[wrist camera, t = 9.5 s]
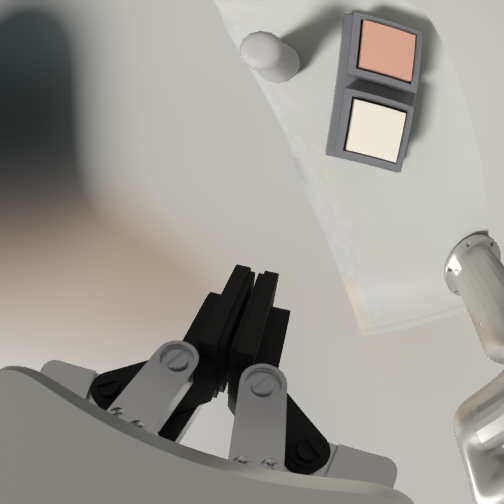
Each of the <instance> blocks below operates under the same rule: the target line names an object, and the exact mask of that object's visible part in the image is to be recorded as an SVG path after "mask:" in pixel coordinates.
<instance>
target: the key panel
mask: <svg viewBox="0 0 504 504" xmlns="http://www.w3.org/2000/svg"><path fill="white" fill-rule="evenodd" d="M364 20H366V21H370V22H374V23H378V24H381V25H385V26H388V27H391V28H395V29H398V30H401V31H404V32H407V33H410V34H412V35H415V36H416V37H415V50H414V61H413V70H412V78H411V81H409V82H402V81H399V80H396V79H392V78H389V77H386V76H382V75H379V74H375V73H372V72H368V71H364V70H360V69H356V65H357V56H358V47H359V37H360V27H361V25H362V23H363V21H364ZM422 38H423V32H421V31H418V30H415V29H412V28H410V27H407V26H404V25H401V24H398V23H395V22H391V21H388V20H385V19H381V18H378V17H374V16H370V15H366V14H362V13H358V12H354V14H353V15H350V14H345V13H344V17H343V24H342V35H341V45H340V54H339V63H338V71H337V79H336V86H335V93H334V101H333V107H332V114H331V121H330V127H329V133H328V139H327V145H326V155H329V156H334V157H338V158H343V159H347V160H351V161H355V162H360V163H364V164H368V165H371V166H375V167H379V168H383V169H386V170H390V171H393V172H397V173H398V172H401V168H402V164H403V160H404V156H405V152H406V148H407V143H408V138H409V134H410V129H411V123H412V118H413V113H414V107H412V101H413V94H414V93H417V87H418V80H419V72H420V63H421V52H422ZM352 99H356V100H360V101H364V102H368V103H372V104H376V105H379V106H383V107H386V108H390V109H393V110H396V111H399V112H402V113H406V117H405V122H404V127H403V132H402V137H401V142H400V146H399V151H398V155H397V160H396V163H395V162H391V161H388V160H384V159H381V158H377V157H373V156H369V155H366V154H362V153H357V152H353V151H349V150H346V148H345V146H344V143H345V138H346V132H347V126H348V120H349V114H350V108H351V101H352Z"/></svg>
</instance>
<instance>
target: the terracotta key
mask: <svg viewBox="0 0 504 504" xmlns="http://www.w3.org/2000/svg"><path fill="white" fill-rule="evenodd" d="M415 37H416V36H415V35H412V34H410V33H407V32H404V31H401V30H398V29H395V28H391V27H388V26H385V25H381V24H378V23H374V22H370V21H366V20H364V21H363V23H362V25H361V27H360V37H359V47H358V56H357V65H356V69H360V70H364V71H368V72H372V73H375V74H379V75H382V76H386V77H389V78H392V79H396V80H399V81H402V82H409V81H411V78H412V70H413V61H414V50H415Z"/></svg>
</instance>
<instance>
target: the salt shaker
mask: <svg viewBox="0 0 504 504" xmlns="http://www.w3.org/2000/svg"><path fill="white" fill-rule="evenodd" d="M240 56H241V58H242V60H243V62H244V63H245V64H246V65H247V66H249V67H250V68H252V69H254V70H257V71H258V73H259V75H260V76H261V77H263V78H264V79H265V80H267V81H270V82H275V83H281V82H286V81H289V80H290V79H291V78H293V77H294V76H295V75H296V74H297V72H298V70H299V68H300V58H299V56H298V54H297V52H296V50H295V49H293V48H292V47H290V46H289V45H287V44H283V43H282V42H281V40H280V38H278V37H277V36H275V35H274V34H272V33H269V32H263V31H259V32H255V33H251V34H250V35H248V36H247V37H246V38H244V39H243V41H242V43H241V45H240Z"/></svg>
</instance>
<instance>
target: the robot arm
mask: <svg viewBox="0 0 504 504" xmlns="http://www.w3.org/2000/svg"><path fill="white" fill-rule="evenodd" d="M500 258H501V257H500V250H499V247H498V245H497V243H496V242H495V241H494V240H493V239H492V238H491V237H489V236H487V235H483V234H478V235H473V236H470V237H468V238H466V239H464V240H463V241H462V242H460V243H459V244H458V245H457V246H456V247H455V248H454V249H453V251H452V252H451V254H450V255H449V257H448V259H447V262H446V265H445V269H444V278H445V282H446V284H447V287H448V288H449V290H450V291H451V292H452V293H454V294H456V295H459V296H461V297H462V299H463V301H464V303H465V305H466V307H467V310H468V312H469V314H470V317H471V319H472V321H473V324H474V326H475V328H476V331H477V333H478V336H479V338H480V341H481V344H482V346H483V349H484V351H485V353H486V354H487V356H488V357H489V358H490V359H492V360H493V361H495V362H497V363H500V364H504V266H503V264H502V263H501V262H500ZM278 276H279V274H278V273H273V272H268V271H265V272H264V274H261V273H259V274H258V277H257V279H256V282H255V285H254V278H255V272H251V268H250V267H246V266H241V265H236V266H235V268H234V270H233V272H232V274H231V276H230V278H229V280H228V282H227V284H226V286H225V288H224V290H223V292H222V294H216V293H212V292H210V293H209V294H208V296H207V298H206V299H205V301H204V303H203V305H202V307H201V308H200V310H199V312H198V314H197V316H196V317H195V319H194V321H193V323H192V325H191V327H190V328H189V330H188V332H187V334H186V335H185V337H184V339H183V341H170V342H167V343H165V344H163V345H162V346H161V347H160V348H158V350H157V351H156V352H155V353H154V354H153V356H152V357H151V358H150V359H149V360H147V361H144V362H141V363H137V364H134V365H130V366H127V367H124V368H120V369H116V370H112V371H109V372H105V373H103V374H97V373H96V371H94V370H89V369H86V368H82V367H78V366H75V365H72V364H68V363H65V362H62V361H58V360H52V361H49V362H47V363H46V364H44V366H43V367H42V369H41V371H40V372H38V371H36V370H33V369H30V368H26V367H21V366H7V367H4V368H2V369H0V504H414V503H413V501H412V500H411V499H410V498H409V497H408V496H406V495H405V494H403V493H401V492H400V491H397V490H395V489H393V486H394V483H395V480H396V476H397V468H396V465H395V463H394V462H393V461H392V460H391V459H389V458H387V457H383V456H379V455H375V454H371V453H368V452H364V451H361V450H357V449H354V448H350V447H347V446H344V445H341V444H339V445H334V444H331V443H329V442H327V440H326V439H325V437H324V436H323V435H322V434H321V433H320V432H319V430H318V429H317V428H316V427H315V426H314V425H313V423H312V422H311V421H310V420H309V419H308V418H307V416H306V415H305V414H304V413H303V412H302V410H301V409H300V408H299V407H298V406H297V404H296V403H295V402H294V401H293V400H292V398H291V397H290V396H289V394H288V393H287V382H286V377H285V376H284V374H283V373H282V372H281V371H280V370H279V369H278V367H279V362H280V358H281V353H282V349H283V344H284V340H285V335H286V330H287V325H288V320H289V316H290V310H285V309H280V308H276V307H273V303H274V297H275V292H276V287H277V282H278ZM227 383H228V407H229V409H230V410H231V412H232V413H233V415H234V416H235V417H234V425H233V431H232V438H231V445H230V452H229V458H228V459H224V458H221V457H217V456H214V455H211V454H207V453H204V452H201V451H198V450H195V449H192V448H189V447H186V446H184V445H181V444H179V442H180V441H181V439H182V438H183V436H184V435H185V433H186V431H187V430H188V428H189V427H190V425H191V424H192V422H193V421H194V419H195V418H196V416H197V414H198V413H199V411H200V410H201V408H202V405H203V404H205V403H207V402H210V401H211V400H212V397H214V398H217V395H218V392H219V391H220V392H224V391H225V388H226V385H227ZM454 431H455V436H456V440H457V443H458V447H459V450H460V453H461V457H462V460H463V463H464V467H465V470H466V474H467V478H468V481H469V485H470V489H471V494H472V497H473V501H474V503H475V504H504V448H502V445H503V444H504V370H503V371H502V372H501V373H500V374H499V375H498V376H497V377H496V378H495V379H493V380H492V381H491V382H490V383H488V384H487V385H486V386H484V387H483V388H482V389H480V390H479V391H477V392H476V393H475V394H473V395H472V396H471V397H469V398H468V399H467V400H465V401H464V402H463V403H462V404H461V405H460V407H459V408H458V410H457V411H456V414H455V417H454Z"/></svg>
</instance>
